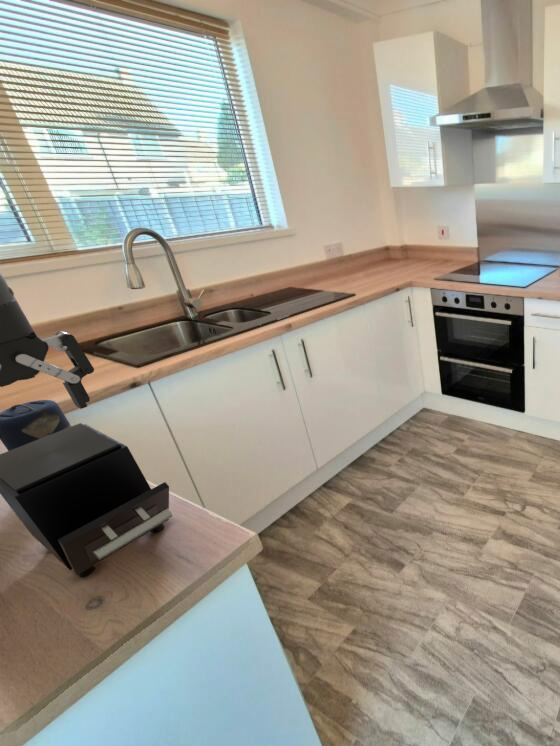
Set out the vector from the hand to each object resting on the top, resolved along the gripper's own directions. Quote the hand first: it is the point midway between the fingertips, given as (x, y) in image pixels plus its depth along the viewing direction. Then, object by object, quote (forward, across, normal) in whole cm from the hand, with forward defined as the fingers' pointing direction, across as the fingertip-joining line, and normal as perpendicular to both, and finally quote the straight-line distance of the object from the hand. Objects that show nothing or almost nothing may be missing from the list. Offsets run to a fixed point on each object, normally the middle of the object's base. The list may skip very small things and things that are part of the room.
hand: (41, 421), depth 57 cm
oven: (+27, -1, -10) cm, 29 cm away
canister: (+28, -4, -40) cm, 49 cm away
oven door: (+25, -1, 0) cm, 25 cm away
